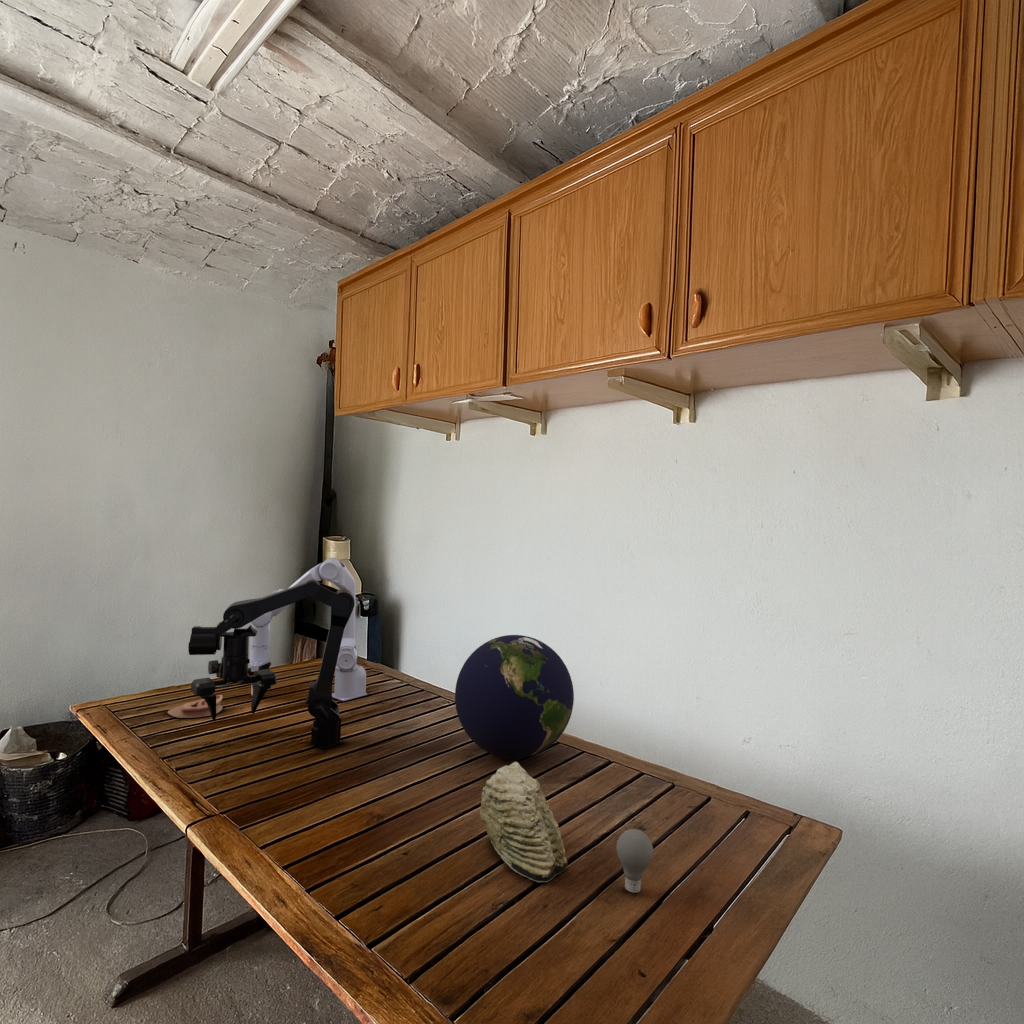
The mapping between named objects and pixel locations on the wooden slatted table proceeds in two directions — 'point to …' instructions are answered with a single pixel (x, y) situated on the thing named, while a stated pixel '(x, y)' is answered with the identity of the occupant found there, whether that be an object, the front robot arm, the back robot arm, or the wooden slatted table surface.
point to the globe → (514, 696)
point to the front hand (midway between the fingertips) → (233, 716)
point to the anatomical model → (195, 709)
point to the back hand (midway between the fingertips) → (258, 688)
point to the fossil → (522, 824)
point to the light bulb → (634, 857)
